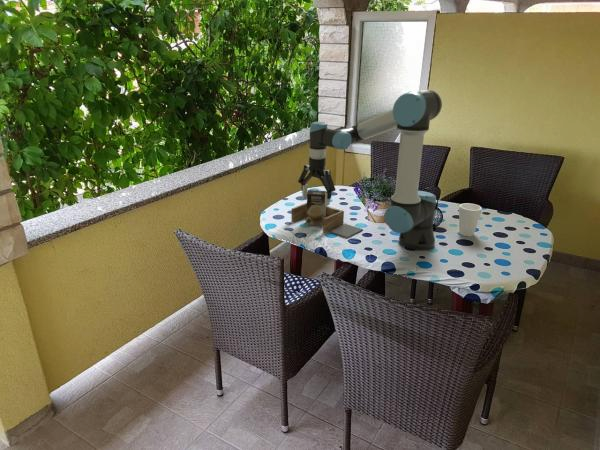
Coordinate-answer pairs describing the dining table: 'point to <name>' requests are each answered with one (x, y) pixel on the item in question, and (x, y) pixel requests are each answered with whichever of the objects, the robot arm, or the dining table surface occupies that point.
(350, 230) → the coaster
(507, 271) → the dining table surface
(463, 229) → the foam cup
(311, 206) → the coffee box
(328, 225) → the wooden u-shaped bracket
